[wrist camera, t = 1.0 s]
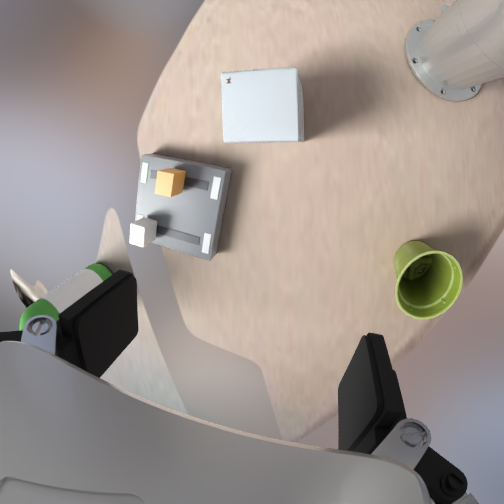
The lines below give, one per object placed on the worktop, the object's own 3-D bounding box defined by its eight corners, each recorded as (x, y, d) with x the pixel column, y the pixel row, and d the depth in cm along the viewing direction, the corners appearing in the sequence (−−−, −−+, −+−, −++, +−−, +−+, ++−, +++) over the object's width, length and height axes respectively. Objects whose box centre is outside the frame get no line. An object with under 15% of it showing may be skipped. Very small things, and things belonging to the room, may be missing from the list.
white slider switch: (143, 217, 41) (130, 223, 38) (157, 220, 41) (144, 227, 38) (142, 235, 42) (129, 243, 39) (155, 239, 42) (143, 247, 39)
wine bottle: (114, 264, 50) (-7, 356, 23) (121, 300, 53) (17, 398, 26) (86, 258, 52) (-29, 337, 24) (93, 293, 55) (-8, 377, 27)
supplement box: (250, 143, 38) (219, 143, 26) (249, 90, 35) (218, 70, 23) (305, 143, 36) (299, 143, 25) (304, 89, 33) (298, 65, 22)
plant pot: (408, 299, 40) (422, 332, 32) (370, 261, 40) (380, 290, 32) (450, 258, 36) (473, 284, 29) (414, 215, 36) (436, 234, 28)
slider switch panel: (152, 153, 41) (141, 155, 38) (232, 168, 39) (225, 171, 37) (144, 231, 46) (134, 237, 43) (216, 253, 45) (209, 261, 42)
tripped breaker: (170, 167, 38) (157, 170, 34) (185, 170, 37) (173, 174, 34) (167, 188, 39) (154, 193, 36) (182, 192, 38) (170, 197, 35)
